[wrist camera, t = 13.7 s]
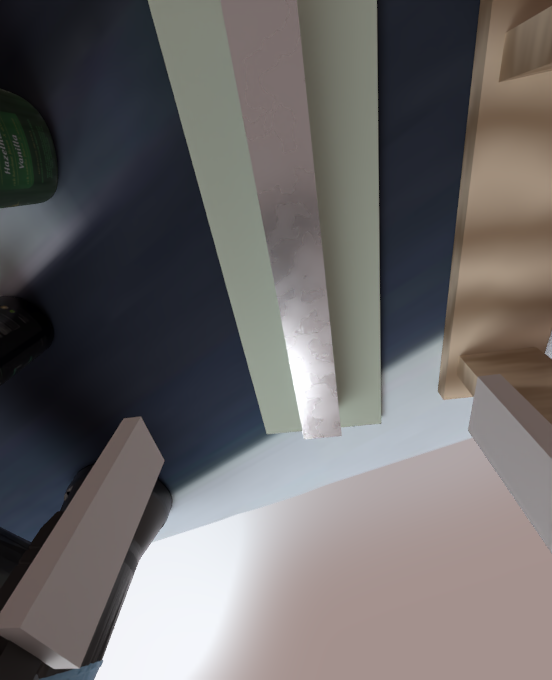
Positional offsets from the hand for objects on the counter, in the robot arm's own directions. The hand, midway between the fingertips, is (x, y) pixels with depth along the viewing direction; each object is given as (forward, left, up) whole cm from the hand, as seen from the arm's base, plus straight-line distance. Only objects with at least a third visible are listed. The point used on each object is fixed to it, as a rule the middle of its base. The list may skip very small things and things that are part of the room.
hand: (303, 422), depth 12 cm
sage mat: (0, 0, -19) cm, 19 cm away
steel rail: (0, 0, -18) cm, 18 cm away
